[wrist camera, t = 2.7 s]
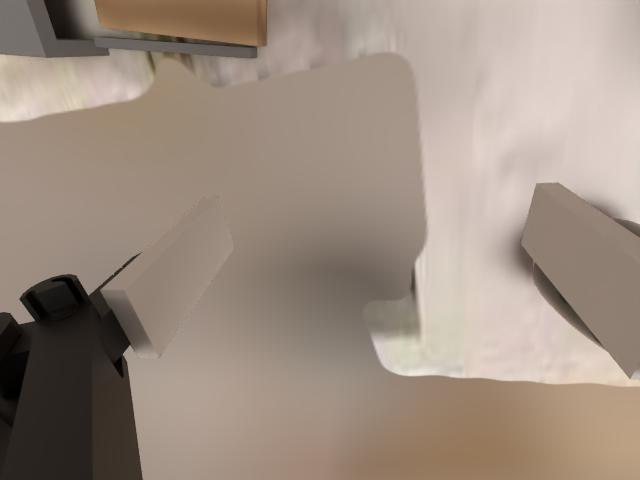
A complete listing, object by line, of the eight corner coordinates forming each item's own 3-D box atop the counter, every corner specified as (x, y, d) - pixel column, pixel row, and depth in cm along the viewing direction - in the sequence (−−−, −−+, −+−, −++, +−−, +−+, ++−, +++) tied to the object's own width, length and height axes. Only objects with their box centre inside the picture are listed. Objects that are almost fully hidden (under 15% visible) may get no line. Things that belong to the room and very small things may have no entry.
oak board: (113, -26, 28) (86, -33, 25) (268, -10, 27) (256, -16, 24) (124, 28, 30) (100, 27, 27) (267, 46, 29) (257, 46, 26)
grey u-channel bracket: (-23, -58, 28) (-131, -86, 22) (252, -48, 25) (214, -77, 19) (18, 48, 32) (-63, 49, 26) (257, 66, 29) (227, 71, 24)
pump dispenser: (646, 194, 30) (846, 305, 17) (616, 280, 35) (753, 416, 22) (525, 205, 32) (622, 310, 19) (514, 285, 37) (584, 410, 25)
